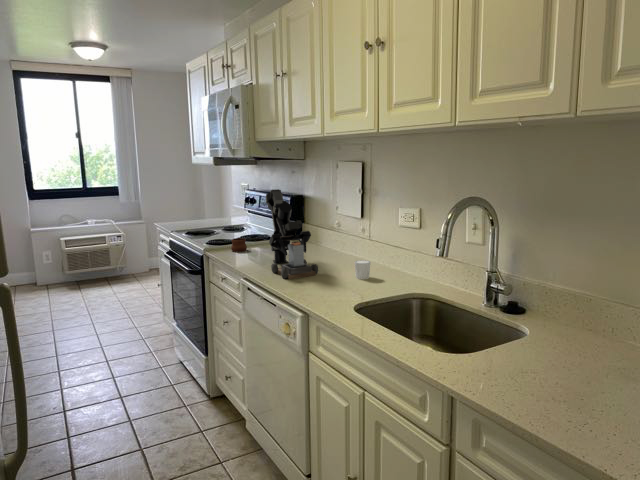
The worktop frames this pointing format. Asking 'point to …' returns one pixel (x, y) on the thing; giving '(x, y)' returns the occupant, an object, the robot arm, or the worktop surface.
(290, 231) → the robot arm
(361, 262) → the shot glass
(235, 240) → the ceramic pot
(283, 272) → the chassis
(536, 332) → the worktop surface
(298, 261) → the engine block
